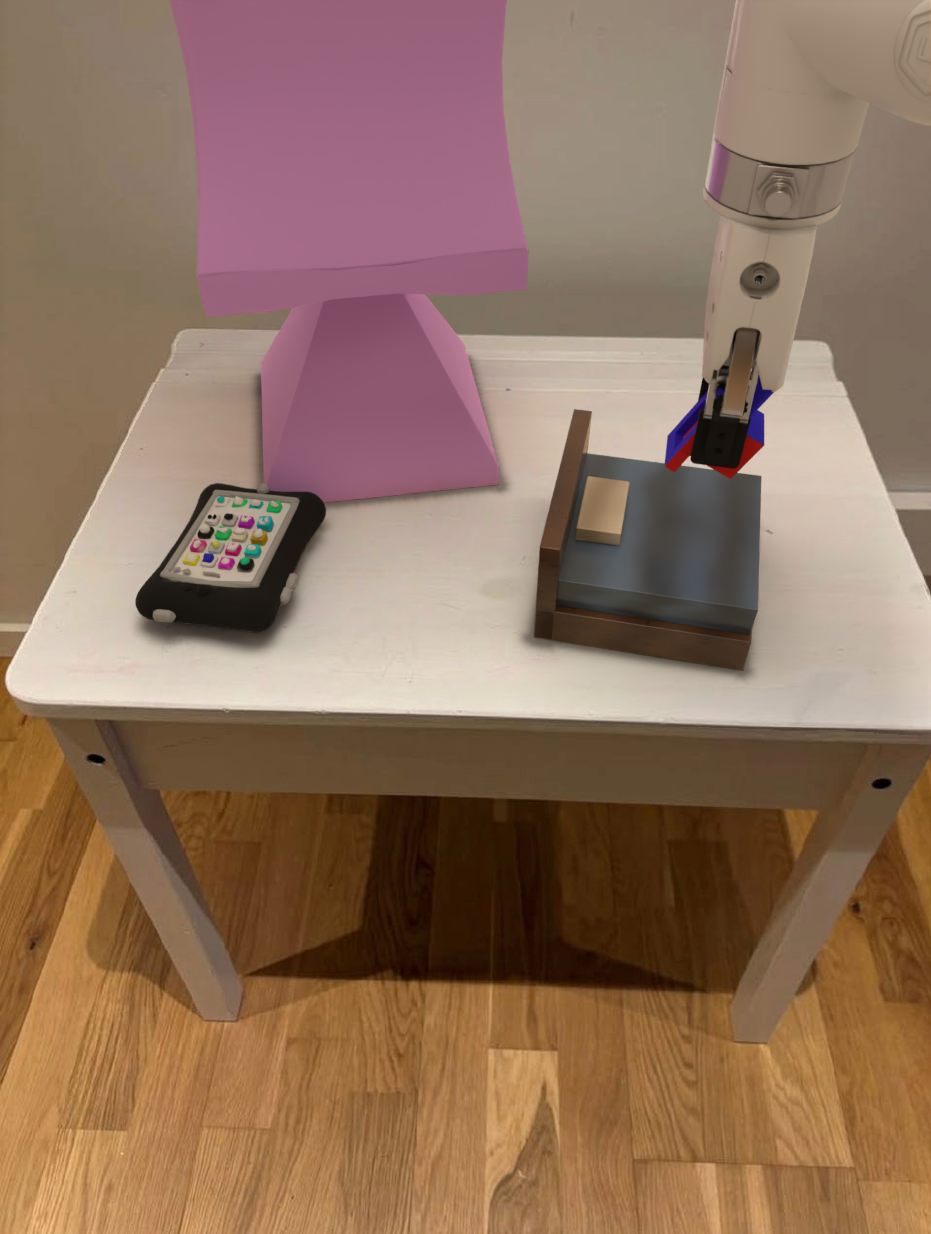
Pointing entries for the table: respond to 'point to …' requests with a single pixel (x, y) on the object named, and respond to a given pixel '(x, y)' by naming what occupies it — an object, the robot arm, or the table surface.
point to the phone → (233, 559)
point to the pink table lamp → (356, 225)
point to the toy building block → (685, 430)
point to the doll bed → (649, 557)
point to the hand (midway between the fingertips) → (716, 441)
